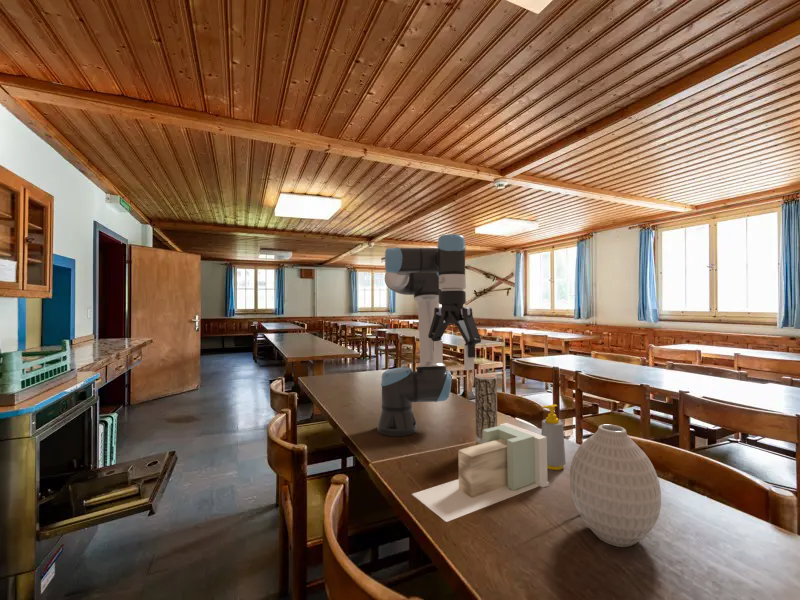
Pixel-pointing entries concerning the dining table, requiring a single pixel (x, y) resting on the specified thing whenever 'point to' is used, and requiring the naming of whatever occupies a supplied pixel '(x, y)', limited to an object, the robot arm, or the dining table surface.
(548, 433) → the soap bottle
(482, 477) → the beige wooden block
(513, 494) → the track
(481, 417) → the bark log
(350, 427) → the dining table surface
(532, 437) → the socket block
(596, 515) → the vase
